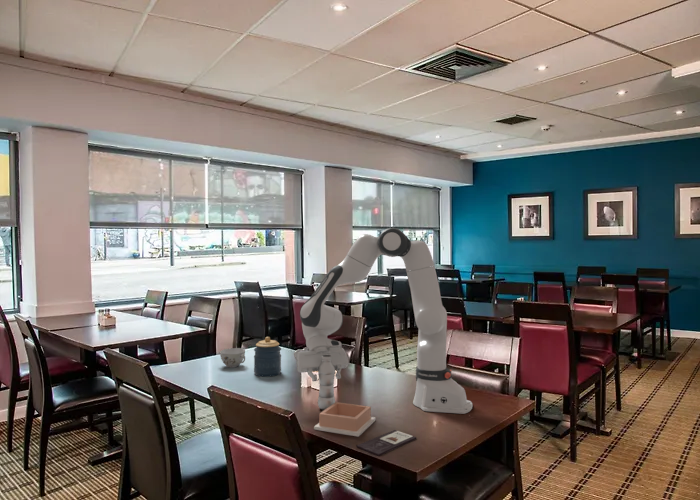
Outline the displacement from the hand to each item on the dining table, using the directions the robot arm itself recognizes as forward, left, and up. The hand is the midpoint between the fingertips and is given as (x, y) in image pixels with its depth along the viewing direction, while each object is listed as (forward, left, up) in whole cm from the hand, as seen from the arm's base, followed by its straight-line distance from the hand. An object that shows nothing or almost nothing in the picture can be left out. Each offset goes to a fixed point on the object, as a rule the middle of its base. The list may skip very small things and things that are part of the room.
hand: (327, 379), depth 183 cm
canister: (+48, -35, -12) cm, 61 cm away
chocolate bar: (-31, +21, -12) cm, 39 cm away
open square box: (-13, +12, -11) cm, 21 cm away
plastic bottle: (0, 0, -12) cm, 12 cm away
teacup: (+71, -40, -12) cm, 83 cm away
